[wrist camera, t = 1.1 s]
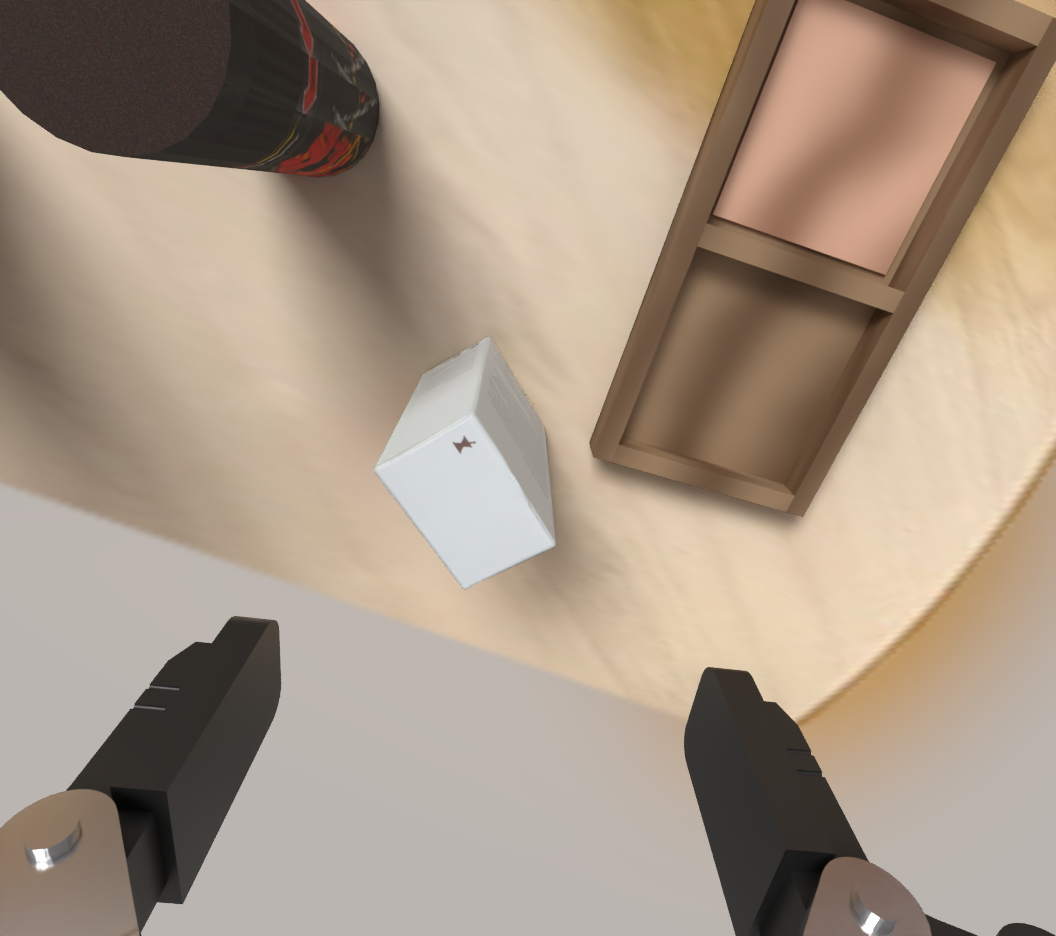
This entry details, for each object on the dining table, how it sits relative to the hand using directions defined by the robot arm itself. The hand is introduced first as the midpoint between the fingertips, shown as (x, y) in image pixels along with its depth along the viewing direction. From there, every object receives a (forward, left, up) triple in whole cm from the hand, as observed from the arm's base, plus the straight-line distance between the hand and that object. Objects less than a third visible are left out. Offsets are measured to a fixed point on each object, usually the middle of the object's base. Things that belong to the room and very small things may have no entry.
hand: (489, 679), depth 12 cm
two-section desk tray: (+11, +9, -22) cm, 26 cm away
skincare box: (-1, -2, -22) cm, 22 cm away
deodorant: (-12, +9, -22) cm, 27 cm away
